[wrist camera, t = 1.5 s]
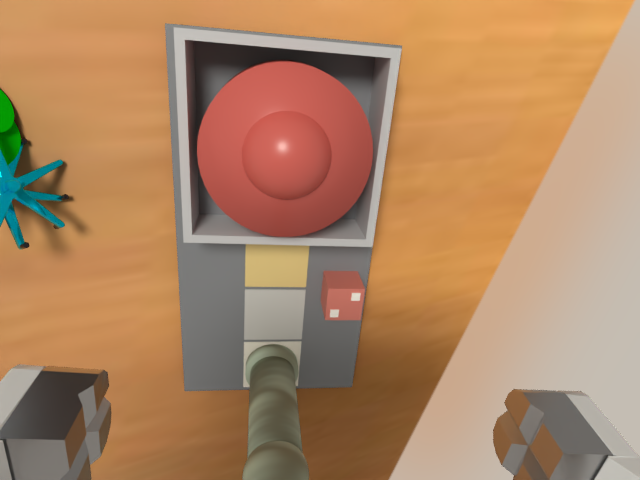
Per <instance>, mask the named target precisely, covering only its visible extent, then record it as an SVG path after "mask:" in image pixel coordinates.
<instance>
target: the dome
mask: <svg viewBox="0 0 640 480" xmlns="http://www.w3.org/2000/svg"><path fill="white" fill-rule="evenodd" d="M197 157H198V165H199V170H200V174H201V177H202V179H203V182H204V185H205V187H206V189H207V191H208V192H209V194H210V196H211V197H212V199H213V200H214V202H215V203H216V204H217V206H218V207H219V208H220V209H221V210H222V211H223V212H224V213H225V214H226V215H228V216H229V217H230V218H231V219H232V220H234V221H235V222H237V223H238V224H240V225H242V226H244V227H246V228H248V229H250V230H252V231H255V232H258V233H261V234H265V235H270V236H277V237H294V236H301V235H306V234H309V233H313V232H316V231H318V230H321V229H323V228H325V227H327V226H329V225H330V224H332V223H334V222H335V221H337V220H338V219H339V218H341V217H342V216H343V215H344V214H345V213H346V212H347V211H348V210H349V209H350V208H351V207H352V206H353V205H354V203H355V202H356V201H357V199H358V198H359V196H360V195H361V193H362V191H363V189H364V187H365V185H366V183H367V180H368V177H369V174H370V171H371V166H372V159H373V140H372V134H371V129H370V126H369V123H368V120H367V117H366V115H365V113H364V111H363V109H362V107H361V105H360V104H359V102H358V101H357V99H356V98H355V97H354V95H353V94H352V93H351V92H350V91H349V90H348V89H347V88H346V87H345V86H344V85H343V84H342V83H341V82H339V81H338V80H337V79H335V78H334V77H332V76H330V75H329V74H327V73H325V72H324V71H322V70H320V69H318V68H316V67H313V66H311V65H309V64H305V63H302V62H299V61H292V60H271V61H265V62H261V63H258V64H255V65H252V66H250V67H248V68H246V69H244V70H242V71H241V72H239V73H238V74H236V75H235V76H234V77H232V78H231V79H230V80H229V81H228V82H227V83H226V84H225V85H224V86H223V87H222V88H221V90H220V91H219V92H218V94H217V95H216V96H215V98H214V99H213V101H212V102H211V104H210V105H209V107H208V109H207V111H206V113H205V115H204V117H203V120H202V123H201V126H200V129H199V135H198V140H197Z"/></svg>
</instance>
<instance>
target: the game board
mask: <svg viewBox="0 0 640 480" xmlns="http://www.w3.org/2000/svg"><path fill="white" fill-rule="evenodd" d="M165 31H166V50H167V69H168V87H169V106H170V125H171V144H172V162H173V181H174V200H175V219H176V237H177V256H178V275H179V294H180V313H181V331H182V350H183V369H184V388H185V391H210V390H249V389H250V385H249V384H248V383H247V380H246V375H245V373H246V361H247V359H248V357H249V355H250V354H251V353H252V352H253V351H254V350H255V349H257V348H259V347H261V346H264V345H268V344H278V345H283V346H285V347H287V348H289V349H290V350H292V351H293V353H294V354H295V355H296V358H297V362H298V370H299V374H298V378H297V380H296V382H295V384H296V388H336V387H352V383H353V377H354V370H355V363H356V356H357V349H358V342H359V336H360V329H361V322H362V315H363V308H364V302H365V295H366V288H367V281H368V274H369V268H370V261H371V254H372V247H373V241H374V234H375V227H376V220H377V214H378V207H379V200H380V193H381V186H382V179H383V173H384V166H385V159H386V152H387V145H388V139H389V132H390V125H391V118H392V111H393V105H394V98H395V91H396V84H397V77H398V71H399V64H400V57H401V50H402V46H400V45H389V44H379V43H368V42H357V41H347V40H336V39H326V38H315V37H304V36H294V35H283V34H272V33H262V32H251V31H241V30H230V29H219V28H209V27H198V26H188V25H177V24H166V23H165ZM271 60H292V61H299V62H302V63H305V64H309V65H311V66H313V67H316V68H318V69H320V70H322V71H324V72H325V73H327V74H329V75H330V76H332V77H334V78H335V79H337V80H338V81H339V82H341V83H342V84H343V85H344V86H345V87H346V88H347V89H348V90H349V91H350V92H351V93H352V94H353V95H354V97H355V98H356V99H357V101H358V102H359V104H360V105H361V107H362V109H363V111H364V113H365V115H366V117H367V120H368V123H369V126H370V129H371V134H372V140H373V159H372V166H371V171H370V174H369V177H368V180H367V183H366V185H365V187H364V189H363V191H362V193H361V195H360V196H359V198H358V199H357V201H356V202H355V203H354V205H353V206H352V207H351V208H350V209H349V210H348V211H347V212H346V213H345V214H344V215H343V216H342V217H341V218H339V219H338V220H337V221H335V222H334V223H332V224H330V225H329V226H327V227H325V228H323V229H321V230H318V231H316V232H313V233H309V234H306V235H301V236H294V237H277V236H270V235H265V234H261V233H258V232H255V231H252V230H250V229H248V228H246V227H244V226H242V225H240V224H238V223H237V222H235V221H234V220H232V219H231V218H230V217H229V216H228V215H226V214H225V213H224V212H223V211H222V210H221V209H220V208H219V207H218V206H217V204H216V203H215V202H214V200H213V199H212V197H211V196H210V194H209V192H208V191H207V189H206V187H205V185H204V182H203V179H202V177H201V174H200V170H199V165H198V157H197V140H198V135H199V129H200V126H201V123H202V120H203V117H204V115H205V113H206V111H207V109H208V107H209V105H210V104H211V102H212V101H213V99H214V98H215V96H216V95H217V94H218V92H219V91H220V90H221V88H222V87H223V86H224V85H225V84H226V83H227V82H228V81H229V80H230V79H231V78H232V77H234V76H235V75H236V74H238V73H239V72H241V71H242V70H244V69H246V68H248V67H250V66H252V65H255V64H258V63H261V62H265V61H271Z"/></svg>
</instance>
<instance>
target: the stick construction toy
mask: <svg viewBox="0 0 640 480" xmlns="http://www.w3.org/2000/svg"><path fill="white" fill-rule="evenodd" d="M26 143H27V140H26V139H25V138H22V139H21V136H20V132H19V129H18V127H17V125H16V124H15V122H14V110H13V107H12V104H11V102H10V101H9V99H8V97H7V96H6V95H5V94H4V92H3V91H2V90H1V89H0V226H1V224H2V222H3V220H4V218H5V220H6V222H7V224H8V226H9V228H10V231H11V233H12V235H13V237H14V240H15V242H16V244H17V246H18V248H19V249H25V248H28V247H29V243H27V242H24V239H23V236H22V233H21V229H20V226H19V223H18V220H17V217H16V214H15V211H14V208H13V205H12V200H13V199H15V200H17V201H19V202H20V203H22V204H23V205H25V206H27V207H28V208H30V209H31V210H33V211H34V212H36V213H37V214H39V215H40V216H42V217H44V218H45V219H47V220H48V221H50V222H51V223H53V224H54V228H55V229H59V228H62V227H64V226H65V224H64V223H63V222H62V221H61V220H60V219H58V218H57V217H56V216H55V215H53V214H52V213H51V212H50V211H48V210H47V209H46V208H45V207H43V206H42V205H41V204H40V203H38V202H37V201H36V200H43V201H64V200H67V199H68V198H69V197H68V195H67V194H64V195H62V196H60V195H54V194H48V193H41V192H35V191H28V190H24V187H25V186H27V185H28V184H30V183H32V182H33V181H35V180H37V179H39V178H40V177H42V176H44V175H45V174H47V173H49V172H50V171H52V170H54V169H56V168H57V167H59V166H61V165H62V164H63V161H62V160H57V161H55V162H53V163H50V164H48V165H46V166H43V167H41V168H39V169H36V170H34V171H32V172H29V173H27V174H25V175H22V176H20V177H18V178H15V177H14V174H15V171H16V168H17V165H18V161H19V158H20V155H21V152H22V149H23V146H24V145H25V144H26Z"/></svg>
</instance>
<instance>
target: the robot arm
mask: <svg viewBox="0 0 640 480" xmlns="http://www.w3.org/2000/svg"><path fill="white" fill-rule="evenodd" d="M108 387H109V381H108V373H107V372H106V371H105V370H98V369H84V368H70V367H56V366H47V367H45V366H33V365H20V364H19V365H17V366H15V367H13V368H12V369H10V370H9V371H8V373H7V374H6V375H5V376H4V378H3V379H2V380H1V381H0V480H91V470H90V464H92V463H93V462H94V461H95V460H97V459H98V458H99V457H100V456H101V454H102V452H103V449H104V447H105V444H106V442H107V438H108V433H109V429H110V424H111V403H110V402H109V401H108V400H107V399H106V398H105V397H104V396H105V394H106V392H107V389H108ZM505 405H506V408H507V410H508V411H507V412H505V413H504V414H503V415H501V416H500V417H499V418H498V419H497V421H496V424H495V427H494V430H493V438H494V439H493V442H494V447H495V451H496V454H497V456H498V458H499V460H500V462H501V465H502V466H503V467H505V468H506V469H507V470H508V471H510V472H511V473H512V474H513V475H514V477H513V480H640V457H639V455H638V454H637V453H636V452H635V451H634V449H633V448H632V447H631V446H630V445H629V443H628V442H627V441H626V440H625V439H624V438H623V436H622V435H621V434H620V433H619V432H618V430H617V429H616V428H615V427H614V426H613V424H612V423H611V422H610V421H609V420H608V418H607V417H606V416H605V415H604V414H603V412H602V411H601V410H600V409H599V408H598V407H597V405H596V404H595V403H594V402H593V401H592V399H591V398H590V397H589V396H588V395H586V394H584V393H583V392H581V391H547V390H521V389H514V390H512V391H511V392H510V393H509V394H508V396H507V398H506V400H505Z"/></svg>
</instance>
